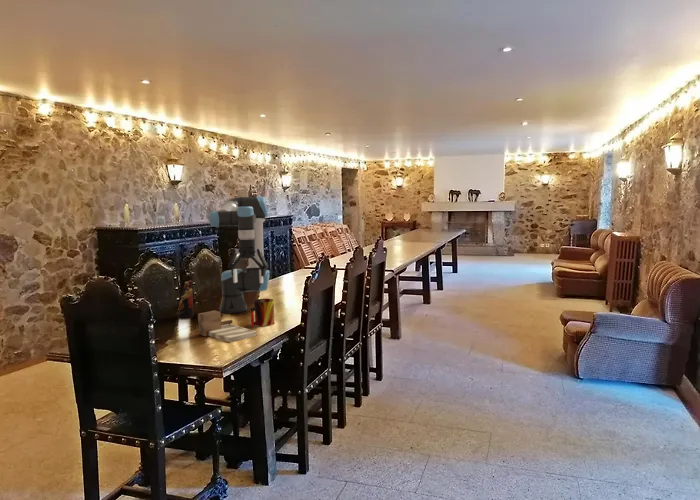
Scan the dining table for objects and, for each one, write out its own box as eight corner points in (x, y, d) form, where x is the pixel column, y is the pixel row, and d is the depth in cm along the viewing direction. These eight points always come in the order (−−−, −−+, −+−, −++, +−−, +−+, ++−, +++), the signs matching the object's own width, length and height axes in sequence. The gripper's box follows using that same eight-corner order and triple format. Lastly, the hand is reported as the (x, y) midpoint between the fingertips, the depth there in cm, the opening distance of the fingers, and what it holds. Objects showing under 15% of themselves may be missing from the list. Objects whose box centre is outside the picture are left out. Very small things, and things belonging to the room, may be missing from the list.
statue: (182, 315, 271) (180, 279, 269) (196, 315, 271) (194, 279, 269) (174, 320, 259) (172, 282, 257) (189, 320, 259) (187, 282, 257)
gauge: (199, 334, 228) (197, 313, 228) (228, 327, 240) (227, 307, 239) (204, 336, 225) (203, 315, 224) (234, 329, 237) (233, 309, 236)
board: (201, 333, 231) (201, 329, 231) (227, 327, 241) (227, 323, 241) (230, 342, 215) (230, 337, 214) (256, 335, 225) (256, 331, 225)
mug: (251, 328, 238) (250, 304, 237) (257, 321, 252) (256, 298, 251) (270, 328, 238) (269, 304, 236) (276, 321, 251) (275, 298, 250)
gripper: (219, 239, 235) (221, 283, 236) (267, 239, 229) (269, 284, 231) (226, 238, 242) (228, 281, 244) (273, 238, 236) (275, 281, 238)
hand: (248, 282), depth 237 cm, fingers open, 13 cm apart
